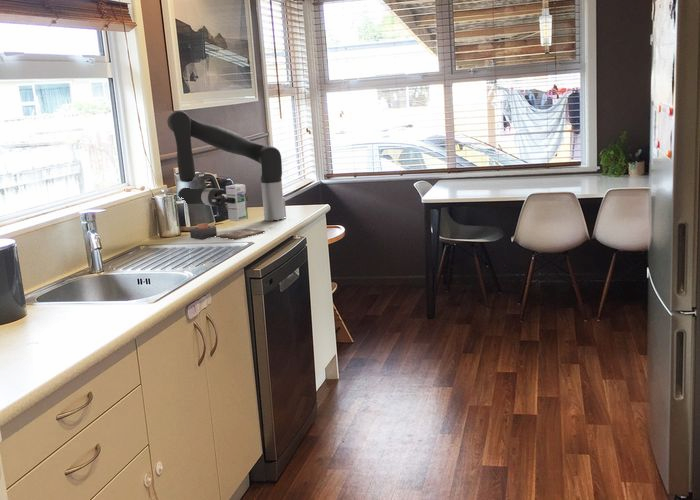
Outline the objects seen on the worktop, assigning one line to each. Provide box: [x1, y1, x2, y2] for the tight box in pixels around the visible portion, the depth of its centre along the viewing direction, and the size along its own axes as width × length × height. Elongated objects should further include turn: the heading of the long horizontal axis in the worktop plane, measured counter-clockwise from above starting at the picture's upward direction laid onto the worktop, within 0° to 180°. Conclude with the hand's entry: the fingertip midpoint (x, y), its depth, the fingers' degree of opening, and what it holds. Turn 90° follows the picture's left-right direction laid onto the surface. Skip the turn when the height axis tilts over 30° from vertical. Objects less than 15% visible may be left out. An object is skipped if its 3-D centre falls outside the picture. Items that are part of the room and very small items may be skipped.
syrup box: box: [225, 183, 249, 222], centre depth 314 cm, size 6×6×14 cm
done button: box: [196, 222, 209, 229], centre depth 316 cm, size 4×4×3 cm
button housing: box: [189, 225, 218, 241], centre depth 317 cm, size 8×8×4 cm
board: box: [215, 228, 266, 241], centre depth 317 cm, size 16×12×1 cm
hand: (240, 199), depth 312 cm, fingers closed on syrup box, 6 cm apart
